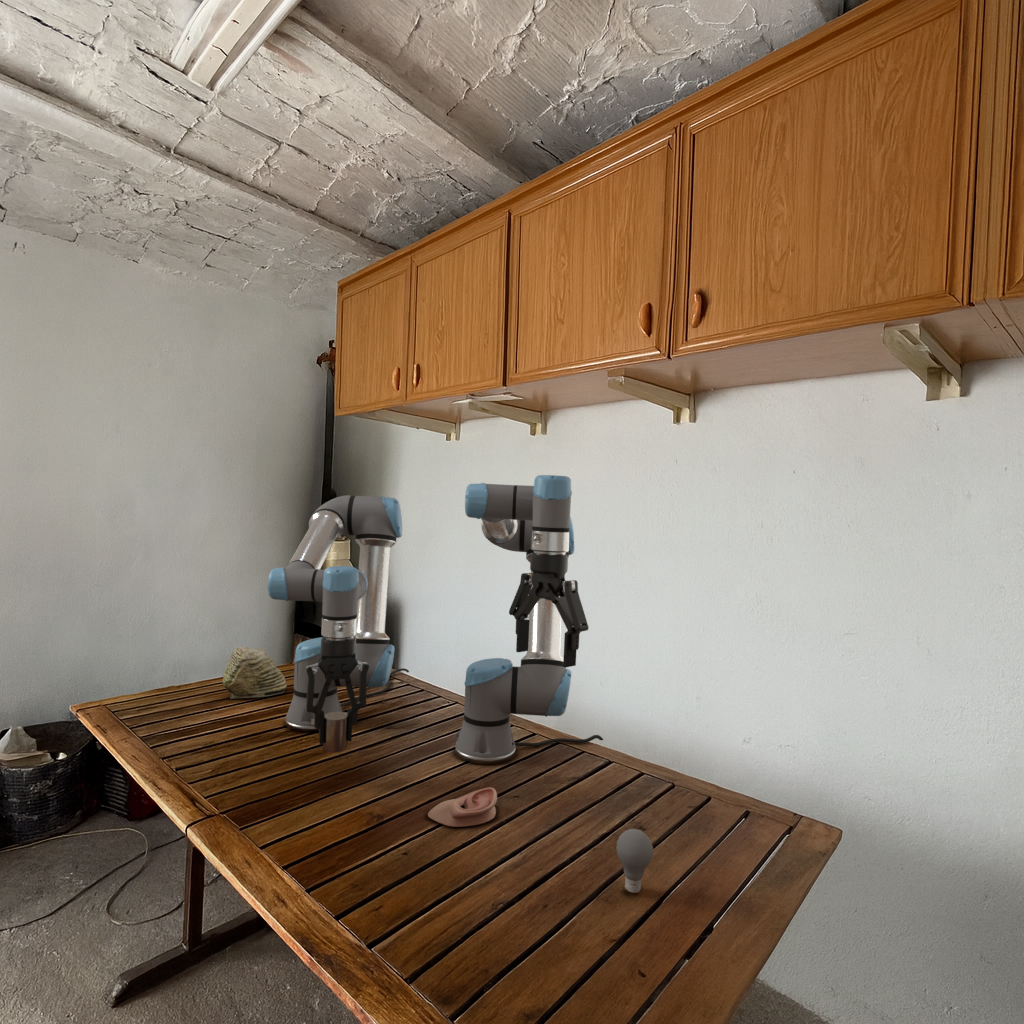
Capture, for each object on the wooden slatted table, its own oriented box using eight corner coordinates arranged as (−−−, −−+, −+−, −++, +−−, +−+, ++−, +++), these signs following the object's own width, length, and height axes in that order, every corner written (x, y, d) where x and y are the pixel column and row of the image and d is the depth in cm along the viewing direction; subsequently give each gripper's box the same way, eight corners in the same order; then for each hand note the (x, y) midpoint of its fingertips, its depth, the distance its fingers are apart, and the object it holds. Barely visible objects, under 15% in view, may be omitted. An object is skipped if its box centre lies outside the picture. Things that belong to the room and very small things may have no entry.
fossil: (218, 695, 195) (220, 647, 195) (278, 685, 208) (279, 640, 207) (228, 703, 189) (230, 653, 188) (289, 692, 201) (290, 645, 201)
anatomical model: (423, 802, 125) (441, 778, 136) (422, 822, 125) (440, 796, 136) (488, 812, 122) (501, 786, 133) (487, 832, 122) (500, 805, 133)
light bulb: (610, 879, 108) (613, 822, 108) (644, 879, 109) (647, 822, 109) (619, 902, 102) (622, 840, 102) (655, 901, 103) (658, 840, 103)
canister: (338, 741, 145) (339, 709, 144) (351, 748, 141) (353, 715, 141) (317, 747, 141) (319, 715, 140) (331, 754, 137) (332, 721, 137)
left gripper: (296, 642, 133) (292, 751, 134) (383, 638, 140) (379, 742, 141) (294, 634, 140) (290, 738, 141) (377, 631, 147) (373, 730, 148)
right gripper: (495, 547, 133) (491, 647, 134) (583, 559, 115) (577, 676, 115) (521, 547, 138) (517, 643, 139) (610, 558, 119) (604, 670, 120)
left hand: (335, 740), depth 141 cm, fingers closed on canister, 5 cm apart
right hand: (544, 658), depth 127 cm, fingers open, 13 cm apart
